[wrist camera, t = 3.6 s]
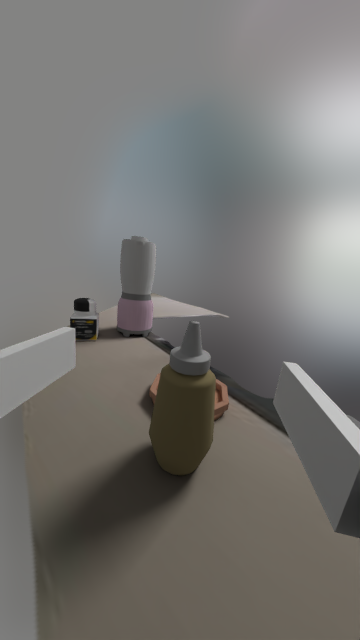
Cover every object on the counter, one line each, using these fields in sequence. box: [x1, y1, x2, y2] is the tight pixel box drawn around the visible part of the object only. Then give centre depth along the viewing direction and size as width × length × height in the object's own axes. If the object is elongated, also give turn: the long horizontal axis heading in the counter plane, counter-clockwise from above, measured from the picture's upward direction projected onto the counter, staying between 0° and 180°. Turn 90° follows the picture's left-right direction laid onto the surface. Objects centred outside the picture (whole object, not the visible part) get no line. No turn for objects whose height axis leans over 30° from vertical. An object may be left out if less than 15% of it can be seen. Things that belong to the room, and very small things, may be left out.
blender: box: [117, 236, 156, 337], centre depth 73 cm, size 16×12×32 cm
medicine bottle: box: [70, 298, 99, 341], centre depth 64 cm, size 7×7×12 cm
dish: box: [149, 373, 229, 421], centre depth 40 cm, size 14×14×2 cm
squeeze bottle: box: [149, 321, 216, 475], centre depth 25 cm, size 8×8×18 cm
